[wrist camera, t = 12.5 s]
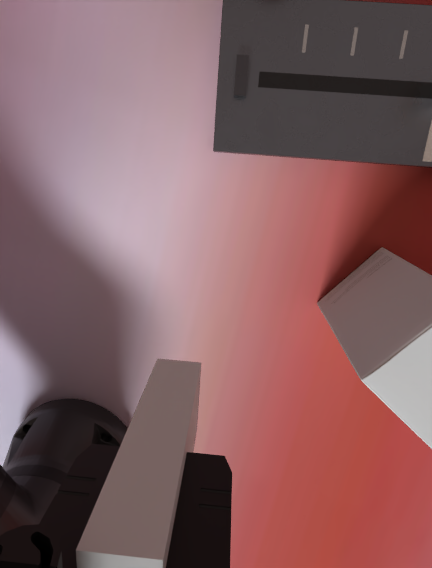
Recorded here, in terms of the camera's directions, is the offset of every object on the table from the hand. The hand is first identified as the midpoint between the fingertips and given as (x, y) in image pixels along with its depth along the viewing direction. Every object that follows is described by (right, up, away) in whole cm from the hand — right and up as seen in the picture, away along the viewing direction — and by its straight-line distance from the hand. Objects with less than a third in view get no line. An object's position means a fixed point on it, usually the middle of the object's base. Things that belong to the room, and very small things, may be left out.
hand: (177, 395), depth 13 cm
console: (+16, +21, +20) cm, 33 cm away
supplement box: (+18, +2, +26) cm, 32 cm away
